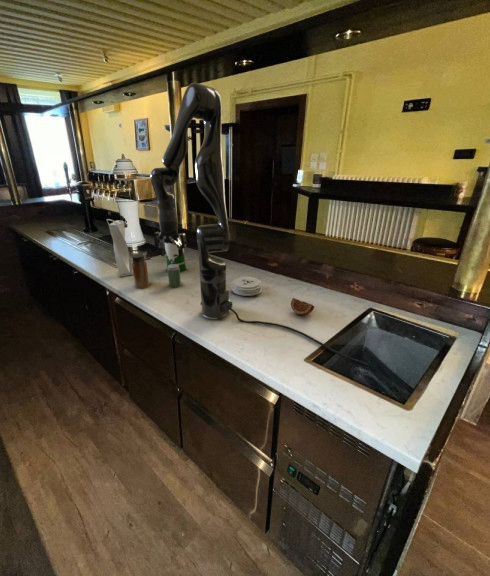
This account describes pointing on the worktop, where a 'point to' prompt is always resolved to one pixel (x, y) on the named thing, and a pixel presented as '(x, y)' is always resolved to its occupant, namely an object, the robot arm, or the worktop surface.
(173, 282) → the green bottle
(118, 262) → the white paper bag
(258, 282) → the lid
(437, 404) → the worktop surface
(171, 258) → the milk carton
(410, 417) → the worktop surface
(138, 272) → the amber bottle
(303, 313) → the fruit slice
